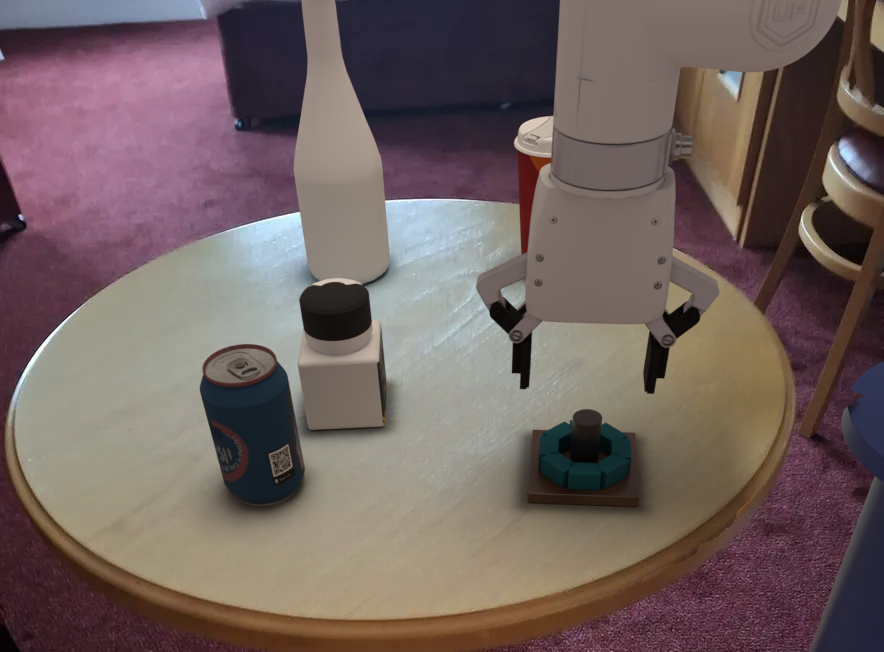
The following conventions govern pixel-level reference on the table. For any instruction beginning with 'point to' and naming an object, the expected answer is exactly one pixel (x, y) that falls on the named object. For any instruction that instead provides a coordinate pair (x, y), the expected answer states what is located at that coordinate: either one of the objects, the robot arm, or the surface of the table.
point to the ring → (584, 473)
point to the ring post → (583, 451)
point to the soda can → (252, 423)
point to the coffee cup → (531, 166)
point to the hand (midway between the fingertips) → (586, 382)
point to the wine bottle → (337, 163)
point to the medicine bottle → (341, 357)
